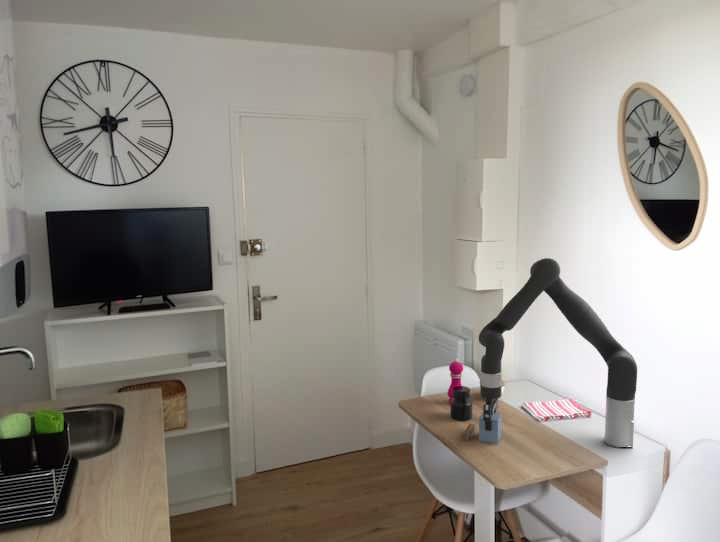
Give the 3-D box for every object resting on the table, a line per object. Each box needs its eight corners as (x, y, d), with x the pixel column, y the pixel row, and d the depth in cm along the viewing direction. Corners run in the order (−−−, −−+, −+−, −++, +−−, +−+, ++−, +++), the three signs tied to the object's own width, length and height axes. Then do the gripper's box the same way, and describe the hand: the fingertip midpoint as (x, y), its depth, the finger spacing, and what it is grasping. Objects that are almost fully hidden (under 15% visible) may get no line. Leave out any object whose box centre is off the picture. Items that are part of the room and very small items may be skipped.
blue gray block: (501, 436, 209) (501, 413, 207) (497, 443, 203) (497, 420, 201) (482, 433, 211) (483, 411, 210) (478, 440, 205) (479, 417, 204)
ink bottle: (474, 414, 231) (474, 386, 229) (473, 422, 222) (473, 393, 221) (450, 412, 233) (450, 384, 232) (448, 420, 225) (448, 391, 223)
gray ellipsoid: (503, 436, 209) (503, 435, 209) (499, 444, 202) (499, 444, 202) (481, 432, 212) (481, 432, 212) (476, 441, 205) (476, 440, 205)
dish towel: (593, 418, 225) (593, 410, 225) (539, 423, 221) (539, 415, 221) (570, 403, 242) (570, 395, 241) (519, 408, 238) (520, 400, 238)
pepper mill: (446, 400, 246) (446, 356, 244) (463, 400, 246) (463, 356, 244) (448, 406, 239) (448, 361, 237) (465, 406, 239) (466, 361, 236)
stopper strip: (474, 430, 214) (474, 424, 214) (468, 441, 205) (468, 434, 205) (469, 429, 215) (469, 423, 215) (462, 440, 206) (462, 433, 206)
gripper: (497, 390, 196) (497, 435, 198) (505, 378, 209) (504, 420, 211) (476, 388, 199) (476, 432, 201) (484, 376, 212) (484, 417, 214)
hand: (490, 426), depth 206 cm, fingers open, 8 cm apart
